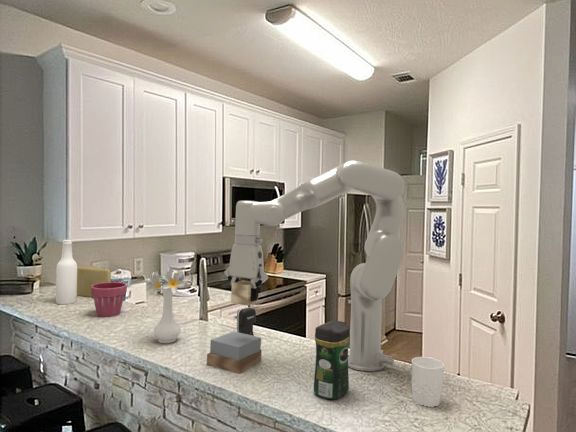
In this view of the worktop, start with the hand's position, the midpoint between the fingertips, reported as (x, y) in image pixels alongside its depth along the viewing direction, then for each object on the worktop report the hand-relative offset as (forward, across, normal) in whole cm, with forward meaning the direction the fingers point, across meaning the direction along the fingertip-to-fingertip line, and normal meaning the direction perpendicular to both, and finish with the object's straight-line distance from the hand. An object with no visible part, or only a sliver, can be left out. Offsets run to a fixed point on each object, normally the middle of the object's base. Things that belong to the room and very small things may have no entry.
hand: (244, 298), depth 126 cm
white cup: (+20, -54, -3) cm, 58 cm away
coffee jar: (+20, -31, +5) cm, 37 cm away
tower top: (+17, +2, +1) cm, 17 cm away
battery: (+20, +11, -19) cm, 30 cm away
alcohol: (+21, +113, -20) cm, 117 cm away
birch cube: (+1, 0, 0) cm, 1 cm away
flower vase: (+21, +35, -4) cm, 41 cm away
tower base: (+21, +2, +1) cm, 21 cm away
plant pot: (+21, +80, -17) cm, 84 cm away
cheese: (+21, +112, -36) cm, 120 cm away
